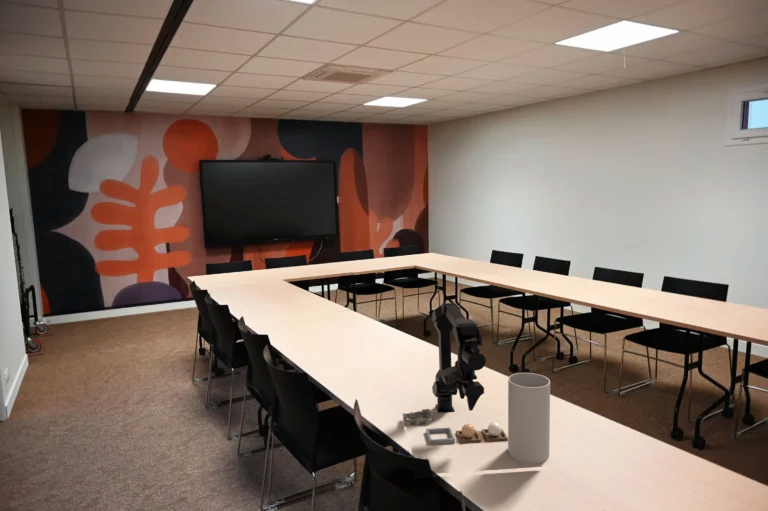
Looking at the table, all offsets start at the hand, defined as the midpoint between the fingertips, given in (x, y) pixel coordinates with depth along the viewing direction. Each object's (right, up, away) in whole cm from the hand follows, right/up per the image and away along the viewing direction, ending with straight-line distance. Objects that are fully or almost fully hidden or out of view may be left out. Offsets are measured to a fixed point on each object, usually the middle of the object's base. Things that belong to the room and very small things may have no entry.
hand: (466, 404), depth 168 cm
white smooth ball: (+10, -11, +2) cm, 15 cm away
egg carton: (-15, -12, +16) cm, 25 cm away
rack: (+6, -13, +2) cm, 14 cm away
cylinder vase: (+18, -14, -9) cm, 25 cm away
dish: (-9, -13, +2) cm, 16 cm away
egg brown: (+1, -12, +2) cm, 12 cm away
